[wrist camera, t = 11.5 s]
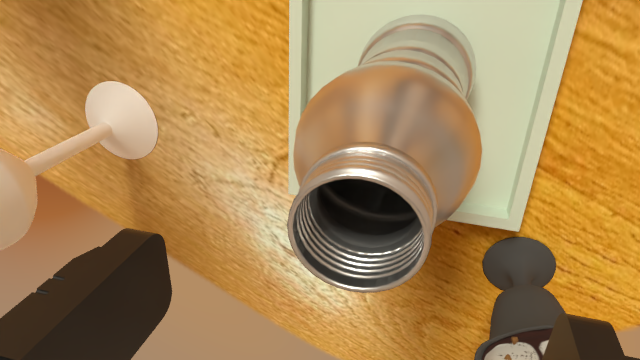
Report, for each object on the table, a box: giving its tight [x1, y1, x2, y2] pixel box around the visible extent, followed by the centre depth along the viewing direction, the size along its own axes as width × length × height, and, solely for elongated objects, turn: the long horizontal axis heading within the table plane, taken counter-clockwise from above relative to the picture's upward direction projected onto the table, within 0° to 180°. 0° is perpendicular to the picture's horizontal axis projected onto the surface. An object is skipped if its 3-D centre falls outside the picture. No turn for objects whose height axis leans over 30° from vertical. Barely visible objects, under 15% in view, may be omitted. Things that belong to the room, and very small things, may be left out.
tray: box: [289, 0, 583, 232], centre depth 29 cm, size 20×16×2 cm
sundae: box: [474, 237, 566, 360], centre depth 27 cm, size 7×7×15 cm
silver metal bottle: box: [287, 14, 482, 293], centre depth 20 cm, size 6×7×20 cm
